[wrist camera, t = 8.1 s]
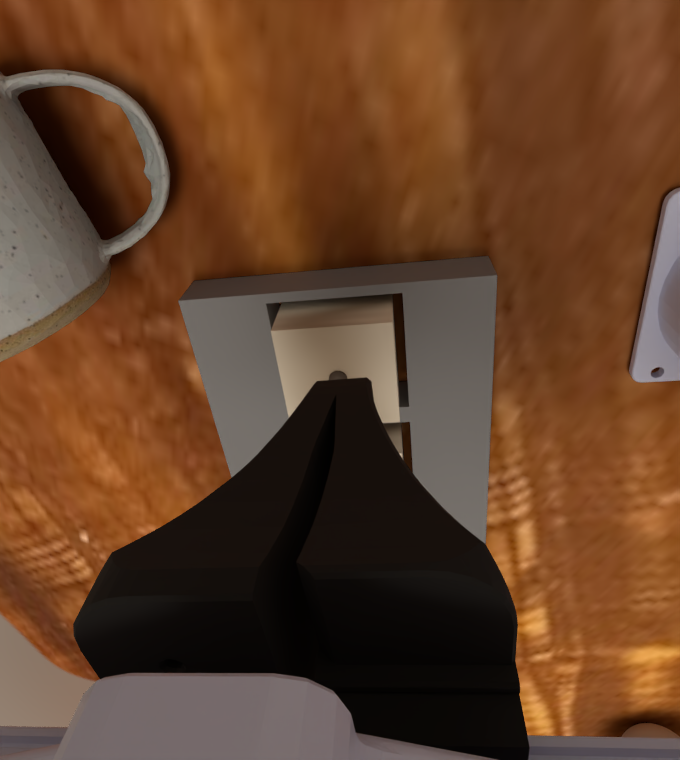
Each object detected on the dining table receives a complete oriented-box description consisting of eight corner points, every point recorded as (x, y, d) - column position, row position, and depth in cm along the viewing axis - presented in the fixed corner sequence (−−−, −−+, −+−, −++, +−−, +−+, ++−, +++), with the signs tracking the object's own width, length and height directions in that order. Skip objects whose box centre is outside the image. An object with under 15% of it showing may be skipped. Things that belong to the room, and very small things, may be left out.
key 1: (392, 286, 21) (392, 324, 19) (398, 378, 24) (400, 424, 21) (284, 294, 22) (269, 332, 19) (301, 384, 24) (290, 429, 21)
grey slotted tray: (488, 255, 21) (497, 275, 19) (476, 622, 34) (480, 653, 32) (194, 280, 22) (178, 300, 21) (289, 623, 35) (284, 652, 33)
